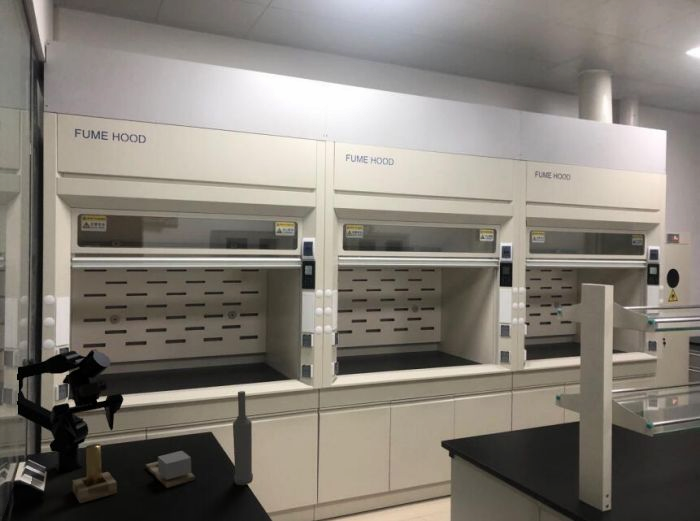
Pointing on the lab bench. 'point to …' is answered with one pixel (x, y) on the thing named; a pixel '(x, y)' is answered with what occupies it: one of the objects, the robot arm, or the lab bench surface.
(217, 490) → the lab bench surface
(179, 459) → the cover
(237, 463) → the bottle
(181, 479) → the plate
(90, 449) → the brass pin
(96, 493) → the socket block
